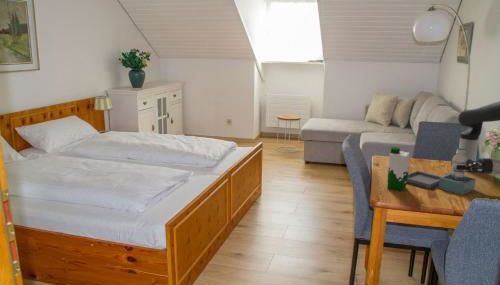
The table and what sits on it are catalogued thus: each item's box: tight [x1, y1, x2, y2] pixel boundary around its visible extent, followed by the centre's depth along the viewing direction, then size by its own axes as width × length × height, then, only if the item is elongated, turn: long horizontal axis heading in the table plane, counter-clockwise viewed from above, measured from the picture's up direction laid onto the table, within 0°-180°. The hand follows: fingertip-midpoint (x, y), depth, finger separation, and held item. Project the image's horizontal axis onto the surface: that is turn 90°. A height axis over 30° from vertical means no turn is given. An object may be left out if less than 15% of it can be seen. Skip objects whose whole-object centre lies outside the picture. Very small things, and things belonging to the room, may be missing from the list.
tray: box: [407, 169, 442, 190], centre depth 220 cm, size 16×16×2 cm
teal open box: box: [438, 172, 477, 196], centre depth 210 cm, size 12×12×6 cm
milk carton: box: [387, 146, 411, 192], centre depth 209 cm, size 9×9×20 cm
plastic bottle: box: [450, 147, 467, 183], centre depth 208 cm, size 6×7×20 cm
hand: (454, 165), depth 208 cm, fingers open, 6 cm apart
